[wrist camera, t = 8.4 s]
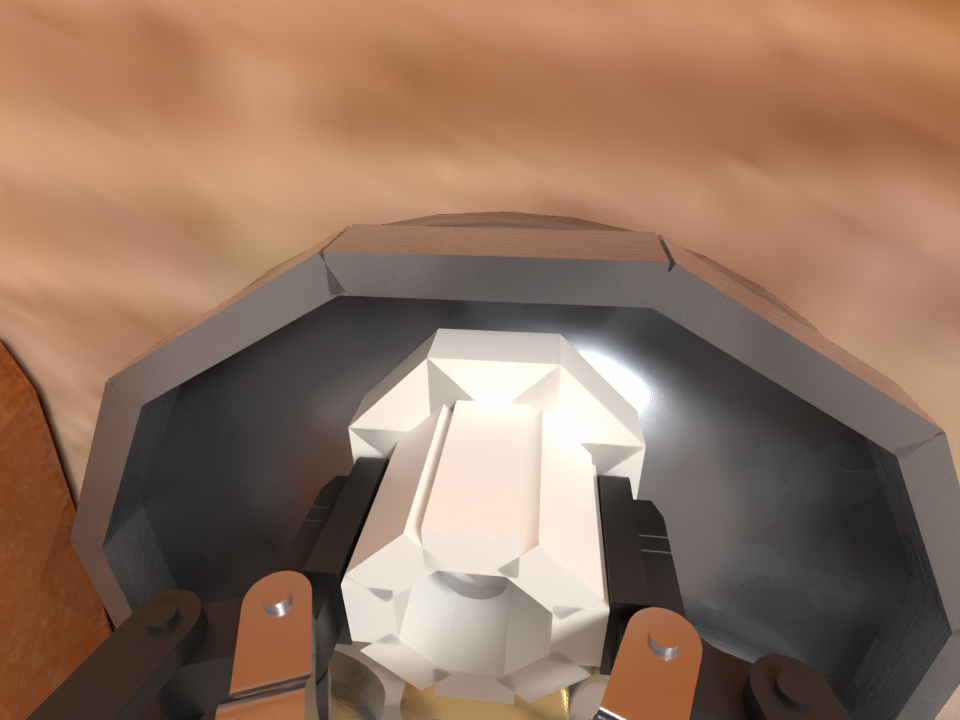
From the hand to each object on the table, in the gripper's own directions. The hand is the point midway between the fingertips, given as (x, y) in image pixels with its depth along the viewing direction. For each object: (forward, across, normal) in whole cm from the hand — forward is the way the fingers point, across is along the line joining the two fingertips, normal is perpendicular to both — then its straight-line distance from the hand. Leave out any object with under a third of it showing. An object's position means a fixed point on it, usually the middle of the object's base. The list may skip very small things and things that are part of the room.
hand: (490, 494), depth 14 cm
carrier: (+4, 0, +8) cm, 9 cm away
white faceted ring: (+2, 0, 0) cm, 2 cm away
